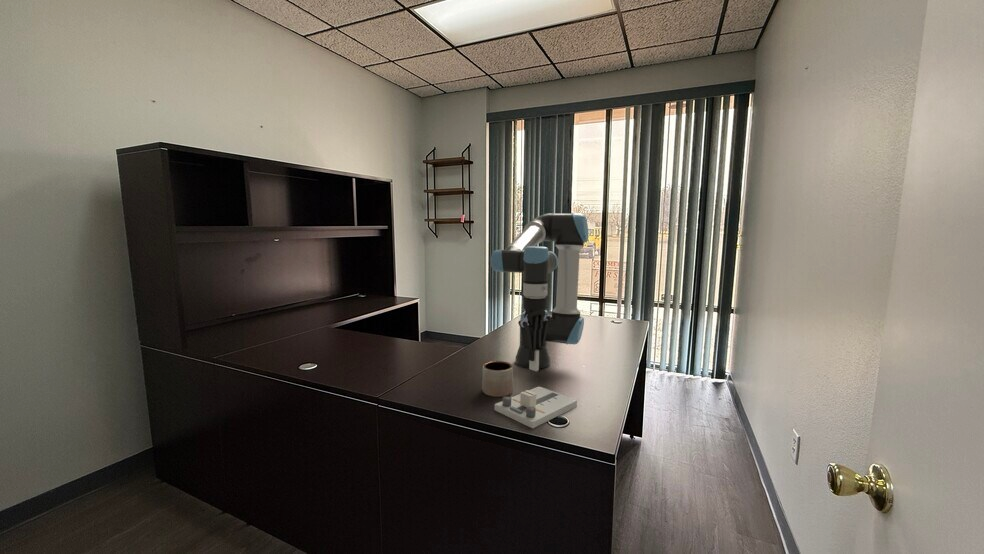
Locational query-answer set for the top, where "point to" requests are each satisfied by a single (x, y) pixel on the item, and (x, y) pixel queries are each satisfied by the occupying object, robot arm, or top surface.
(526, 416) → the console
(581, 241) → the robot arm
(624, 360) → the top surface
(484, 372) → the planter
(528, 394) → the fader
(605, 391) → the top surface
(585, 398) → the top surface
